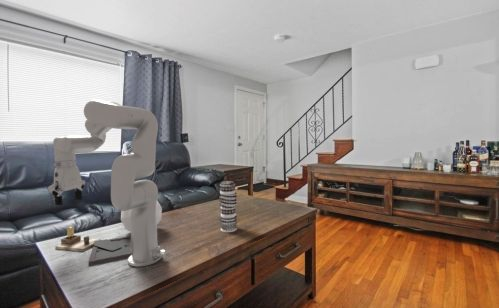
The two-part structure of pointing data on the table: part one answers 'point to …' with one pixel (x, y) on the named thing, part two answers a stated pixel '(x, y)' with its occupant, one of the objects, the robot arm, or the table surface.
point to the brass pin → (70, 232)
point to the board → (76, 243)
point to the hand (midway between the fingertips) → (69, 202)
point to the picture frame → (110, 250)
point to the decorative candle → (228, 206)
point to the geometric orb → (126, 214)
